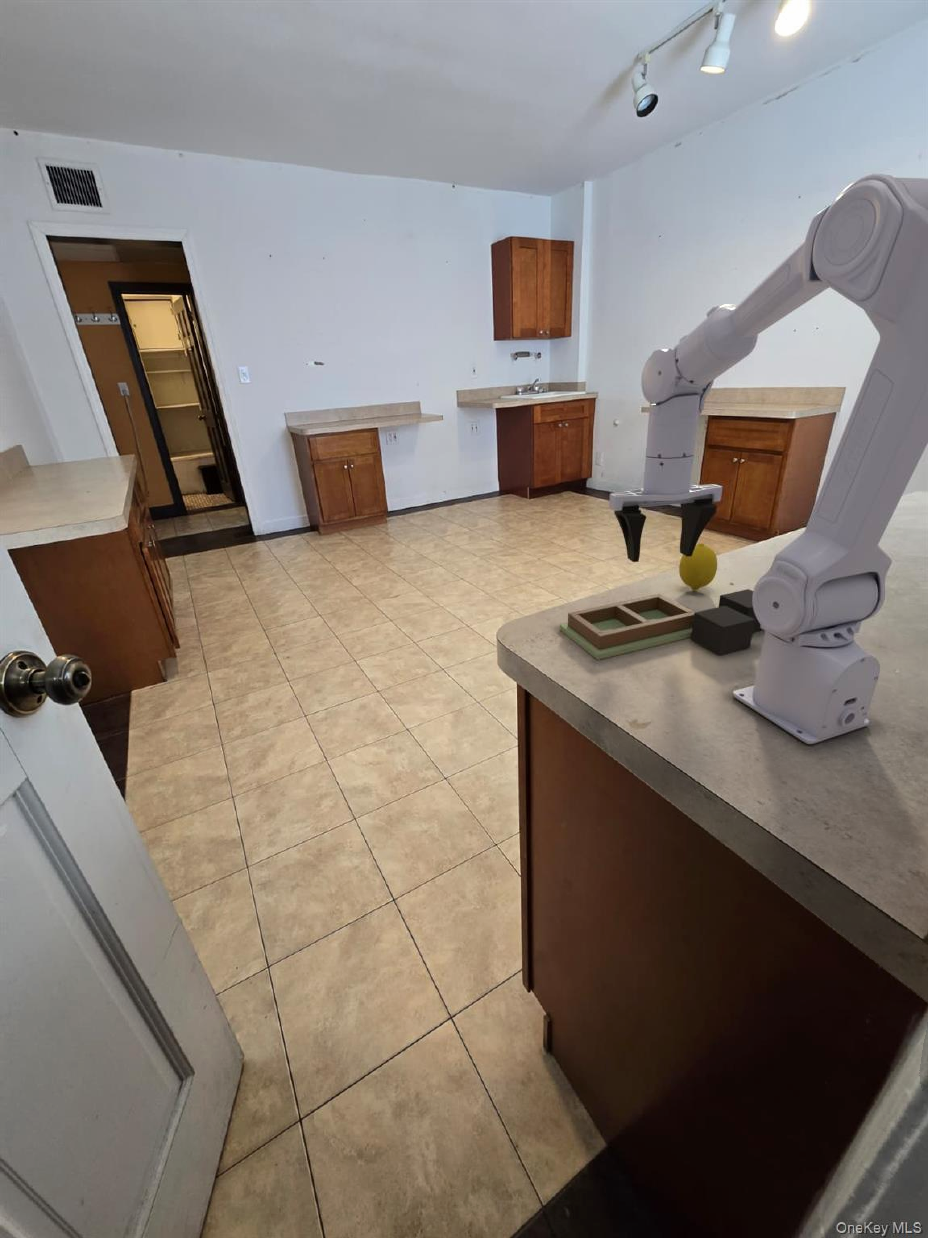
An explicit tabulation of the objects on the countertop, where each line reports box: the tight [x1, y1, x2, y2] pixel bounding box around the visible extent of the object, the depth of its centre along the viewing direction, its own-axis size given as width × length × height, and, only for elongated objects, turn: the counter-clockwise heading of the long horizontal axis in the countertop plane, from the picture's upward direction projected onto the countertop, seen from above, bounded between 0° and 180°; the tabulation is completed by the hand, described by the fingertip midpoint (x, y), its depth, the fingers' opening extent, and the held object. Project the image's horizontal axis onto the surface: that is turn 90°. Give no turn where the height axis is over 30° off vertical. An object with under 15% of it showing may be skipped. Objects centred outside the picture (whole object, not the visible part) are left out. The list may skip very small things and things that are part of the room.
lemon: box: [678, 542, 718, 591], centre depth 82 cm, size 6×6×8 cm
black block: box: [718, 588, 764, 633], centre depth 71 cm, size 5×5×4 cm
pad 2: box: [690, 606, 755, 656], centre depth 66 cm, size 5×5×4 cm
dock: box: [559, 593, 696, 661], centre depth 71 cm, size 10×17×3 cm, turn 109°
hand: (659, 557), depth 71 cm, fingers open, 7 cm apart
